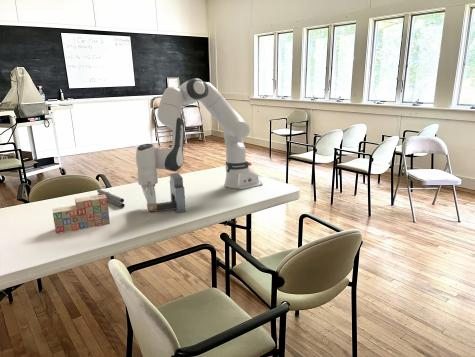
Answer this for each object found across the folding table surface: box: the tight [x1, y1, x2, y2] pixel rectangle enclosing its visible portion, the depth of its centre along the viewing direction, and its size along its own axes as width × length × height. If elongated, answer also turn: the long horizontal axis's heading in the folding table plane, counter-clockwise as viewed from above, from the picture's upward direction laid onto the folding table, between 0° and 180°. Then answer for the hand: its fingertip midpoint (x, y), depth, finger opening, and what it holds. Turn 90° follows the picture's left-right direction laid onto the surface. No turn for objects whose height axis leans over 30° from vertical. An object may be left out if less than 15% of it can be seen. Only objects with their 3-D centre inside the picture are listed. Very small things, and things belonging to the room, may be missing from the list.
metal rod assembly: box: [96, 188, 126, 209], centre depth 182 cm, size 26×3×5 cm, turn 46°
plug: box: [146, 200, 176, 212], centre depth 170 cm, size 18×4×4 cm, turn 111°
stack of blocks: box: [52, 194, 111, 234], centre depth 151 cm, size 21×6×12 cm, turn 117°
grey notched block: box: [169, 172, 187, 214], centre depth 171 cm, size 4×15×16 cm, turn 21°
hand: (150, 207), depth 168 cm, fingers closed on plug, 4 cm apart
